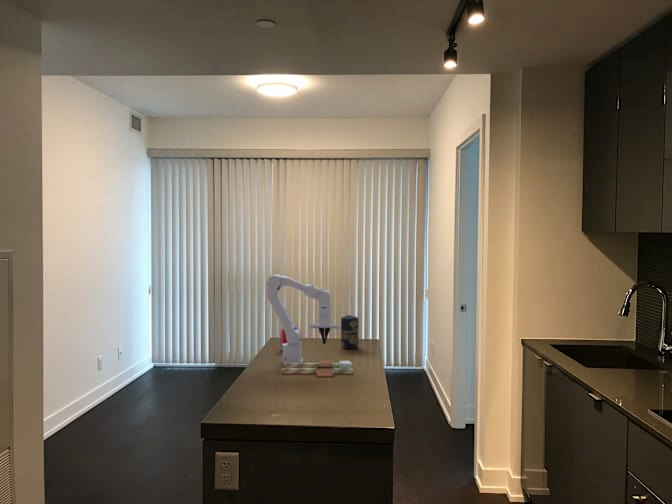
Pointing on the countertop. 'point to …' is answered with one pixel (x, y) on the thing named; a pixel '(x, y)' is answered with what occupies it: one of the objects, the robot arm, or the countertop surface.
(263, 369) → the countertop surface
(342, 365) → the block
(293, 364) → the track
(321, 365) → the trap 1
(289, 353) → the robot arm
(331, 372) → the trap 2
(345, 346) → the canister
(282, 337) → the soda can
